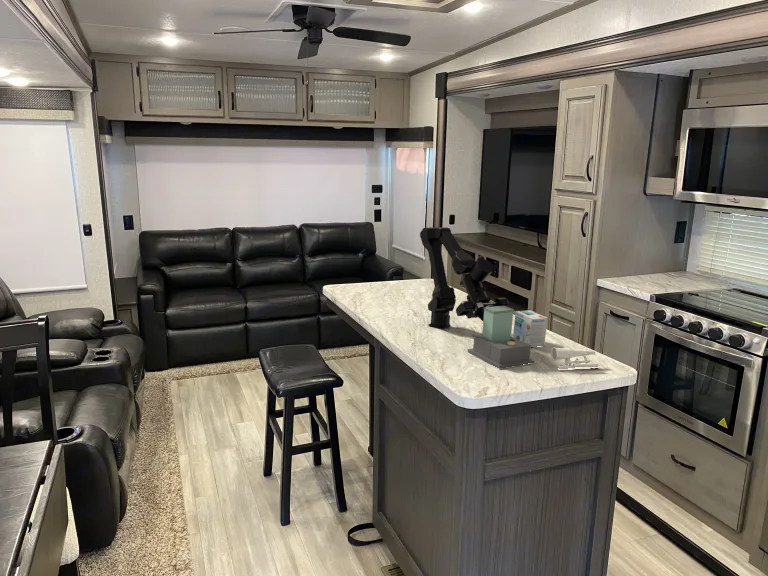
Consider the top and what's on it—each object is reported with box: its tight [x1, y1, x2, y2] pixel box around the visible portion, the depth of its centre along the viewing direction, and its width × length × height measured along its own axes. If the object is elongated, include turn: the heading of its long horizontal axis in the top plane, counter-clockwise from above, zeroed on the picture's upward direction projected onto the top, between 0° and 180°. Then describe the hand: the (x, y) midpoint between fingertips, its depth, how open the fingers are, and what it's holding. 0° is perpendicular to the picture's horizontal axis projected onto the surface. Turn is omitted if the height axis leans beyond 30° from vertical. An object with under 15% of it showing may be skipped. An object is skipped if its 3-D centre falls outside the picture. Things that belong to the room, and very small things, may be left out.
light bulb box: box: [512, 309, 548, 348], centre depth 204 cm, size 11×7×11 cm, turn 21°
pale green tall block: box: [481, 306, 515, 344], centre depth 189 cm, size 5×8×15 cm, turn 117°
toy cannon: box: [550, 346, 600, 369], centre depth 182 cm, size 8×14×5 cm
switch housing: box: [467, 335, 535, 369], centre depth 187 cm, size 17×14×7 cm
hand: (491, 328), depth 191 cm, fingers closed
